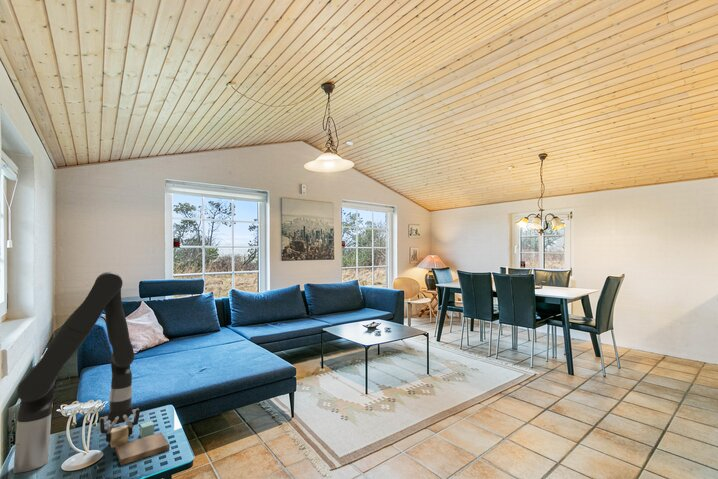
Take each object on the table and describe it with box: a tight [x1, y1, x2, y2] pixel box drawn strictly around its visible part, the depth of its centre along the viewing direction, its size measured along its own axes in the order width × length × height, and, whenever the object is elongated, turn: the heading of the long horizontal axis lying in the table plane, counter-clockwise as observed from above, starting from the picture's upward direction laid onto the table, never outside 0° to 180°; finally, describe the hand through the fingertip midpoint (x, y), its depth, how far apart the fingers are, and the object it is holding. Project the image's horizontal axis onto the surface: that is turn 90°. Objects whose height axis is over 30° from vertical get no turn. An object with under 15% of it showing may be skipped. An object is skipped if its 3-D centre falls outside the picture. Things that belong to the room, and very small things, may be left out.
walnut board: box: [114, 432, 171, 466], centre depth 135 cm, size 16×13×2 cm
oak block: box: [109, 424, 129, 449], centre depth 141 cm, size 6×6×6 cm
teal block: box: [139, 420, 155, 438], centre depth 148 cm, size 4×4×4 cm
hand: (119, 439), depth 141 cm, fingers open, 6 cm apart
